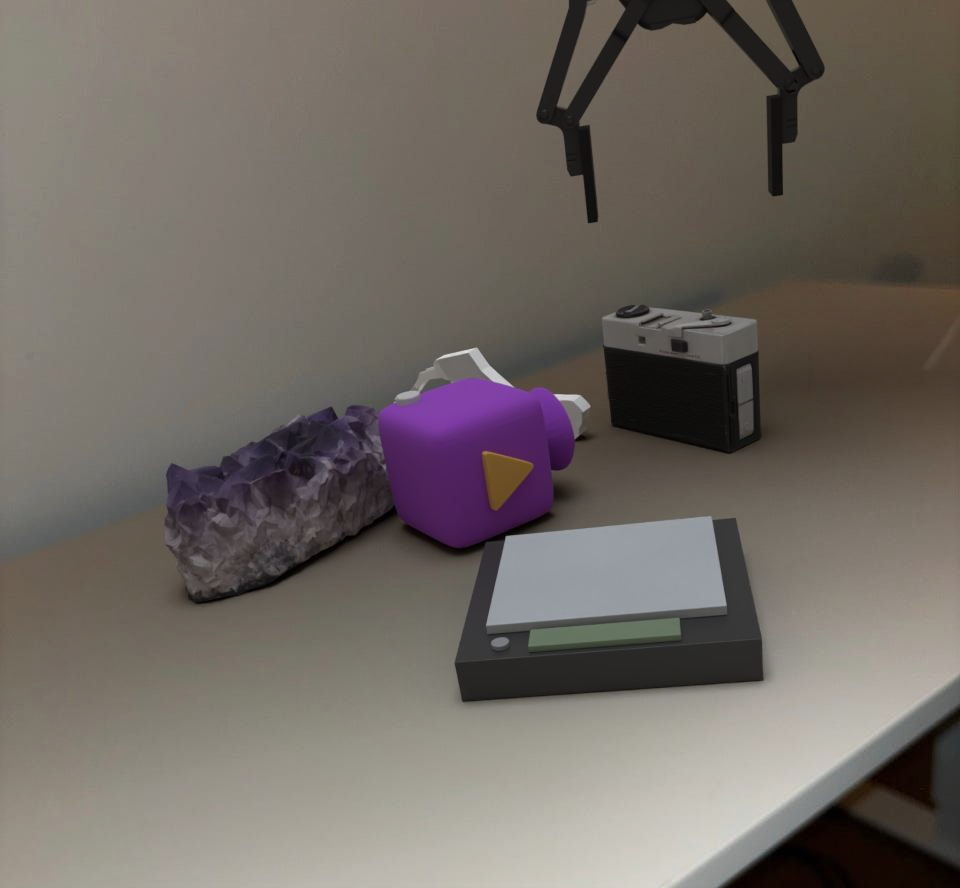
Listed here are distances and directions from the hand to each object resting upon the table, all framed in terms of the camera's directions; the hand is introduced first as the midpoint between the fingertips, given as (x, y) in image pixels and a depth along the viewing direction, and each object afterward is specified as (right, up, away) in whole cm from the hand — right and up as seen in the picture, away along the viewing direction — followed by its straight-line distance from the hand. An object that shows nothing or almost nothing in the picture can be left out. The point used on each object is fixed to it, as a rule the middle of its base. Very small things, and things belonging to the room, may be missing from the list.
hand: (683, 207), depth 80 cm
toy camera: (-14, -23, -1) cm, 27 cm away
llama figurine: (-14, -14, +15) cm, 25 cm away
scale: (-8, -32, -18) cm, 37 cm away
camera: (+3, -15, +9) cm, 18 cm away
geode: (-29, -26, +1) cm, 39 cm away
